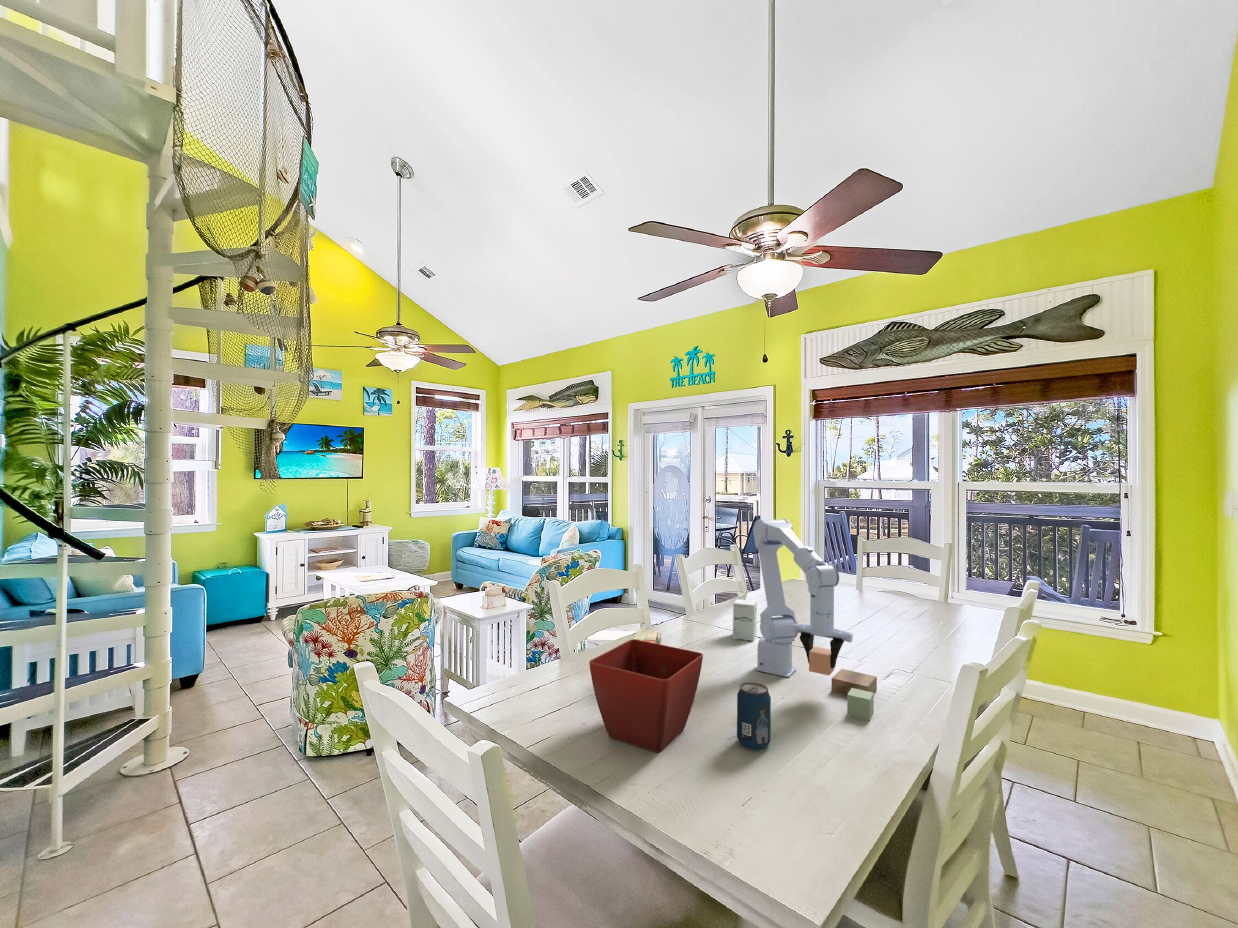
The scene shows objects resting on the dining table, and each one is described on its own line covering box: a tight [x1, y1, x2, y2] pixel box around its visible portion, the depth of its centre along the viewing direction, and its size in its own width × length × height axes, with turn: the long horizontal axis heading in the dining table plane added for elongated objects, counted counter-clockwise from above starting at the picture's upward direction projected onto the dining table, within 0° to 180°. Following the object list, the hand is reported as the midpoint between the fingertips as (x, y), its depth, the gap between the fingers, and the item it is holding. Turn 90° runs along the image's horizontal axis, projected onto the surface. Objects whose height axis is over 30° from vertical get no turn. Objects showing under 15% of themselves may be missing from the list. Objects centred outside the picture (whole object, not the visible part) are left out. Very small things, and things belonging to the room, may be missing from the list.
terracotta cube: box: [808, 646, 835, 676], centre depth 140 cm, size 5×5×5 cm
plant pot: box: [588, 639, 704, 753], centre depth 120 cm, size 19×19×17 cm
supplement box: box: [732, 598, 758, 642], centre depth 191 cm, size 7×7×13 cm
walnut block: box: [831, 668, 878, 697], centre depth 144 cm, size 9×9×4 cm
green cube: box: [846, 688, 875, 721], centre depth 131 cm, size 5×5×5 cm
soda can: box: [736, 682, 772, 752], centre depth 115 cm, size 7×7×12 cm
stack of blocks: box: [632, 629, 662, 645], centre depth 155 cm, size 21×6×12 cm, turn 170°
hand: (821, 664), depth 140 cm, fingers closed on terracotta cube, 5 cm apart
